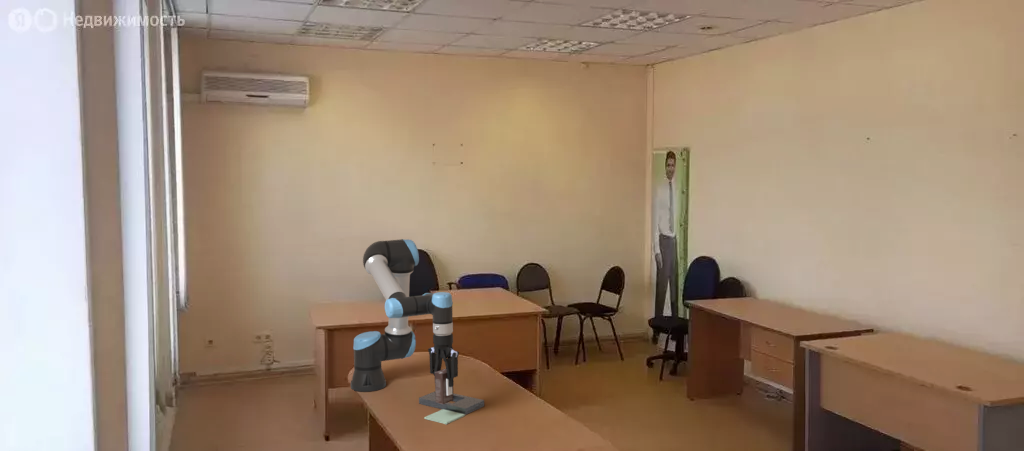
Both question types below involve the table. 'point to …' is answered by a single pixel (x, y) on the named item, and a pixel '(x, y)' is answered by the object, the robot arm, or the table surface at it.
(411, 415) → the table surface
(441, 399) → the box
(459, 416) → the pad
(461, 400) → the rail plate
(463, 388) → the table surface
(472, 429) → the table surface
